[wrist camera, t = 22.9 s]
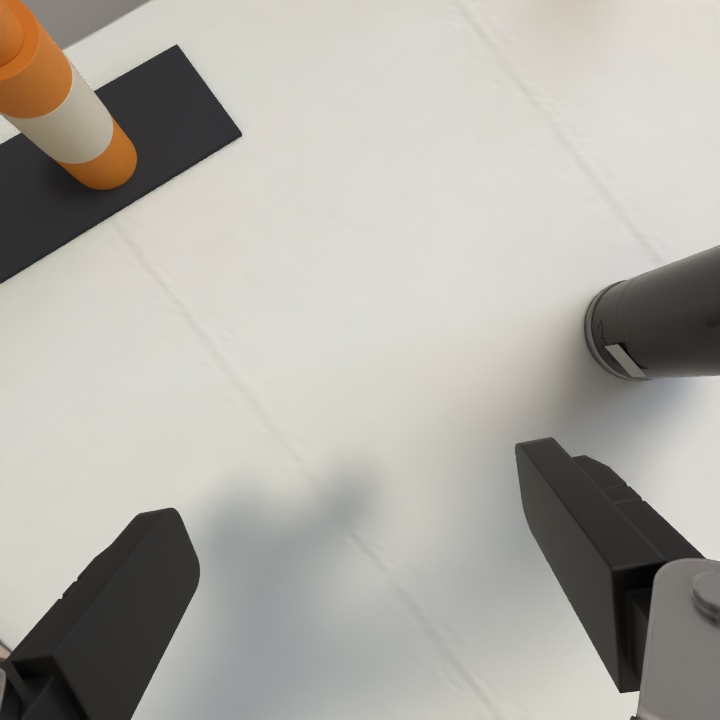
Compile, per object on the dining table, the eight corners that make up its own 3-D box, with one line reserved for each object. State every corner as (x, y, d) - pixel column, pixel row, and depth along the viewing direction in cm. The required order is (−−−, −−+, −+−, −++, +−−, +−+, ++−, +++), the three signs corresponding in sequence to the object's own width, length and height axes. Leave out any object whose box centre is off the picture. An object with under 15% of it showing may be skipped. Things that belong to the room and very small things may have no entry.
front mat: (178, 47, 37) (176, 43, 36) (242, 135, 36) (241, 132, 36) (-90, 200, 33) (-95, 198, 33) (-22, 297, 33) (-26, 295, 33)
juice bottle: (125, 120, 35) (-77, -158, 18) (146, 179, 35) (-39, -42, 17) (59, 138, 35) (-220, -131, 17) (80, 199, 34) (-182, -10, 17)
